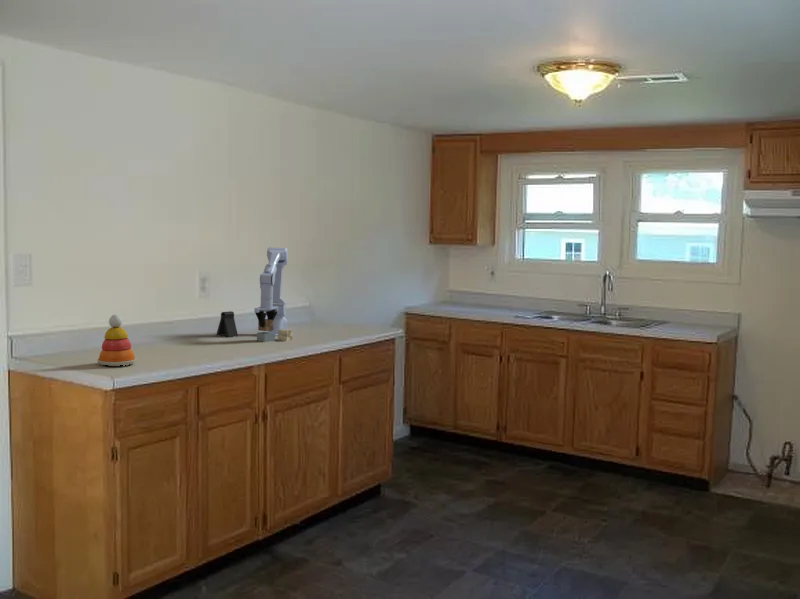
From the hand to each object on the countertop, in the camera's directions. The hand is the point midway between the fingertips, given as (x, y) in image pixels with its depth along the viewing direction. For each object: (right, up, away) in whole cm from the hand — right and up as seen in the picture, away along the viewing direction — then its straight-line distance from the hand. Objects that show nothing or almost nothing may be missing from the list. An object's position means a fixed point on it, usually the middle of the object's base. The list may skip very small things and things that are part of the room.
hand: (266, 326), depth 385 cm
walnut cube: (0, -2, 0) cm, 2 cm away
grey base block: (0, -7, +1) cm, 7 cm away
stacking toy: (-45, -12, -74) cm, 88 cm away
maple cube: (+8, -7, +5) cm, 12 cm away
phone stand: (-21, -5, +11) cm, 24 cm away
